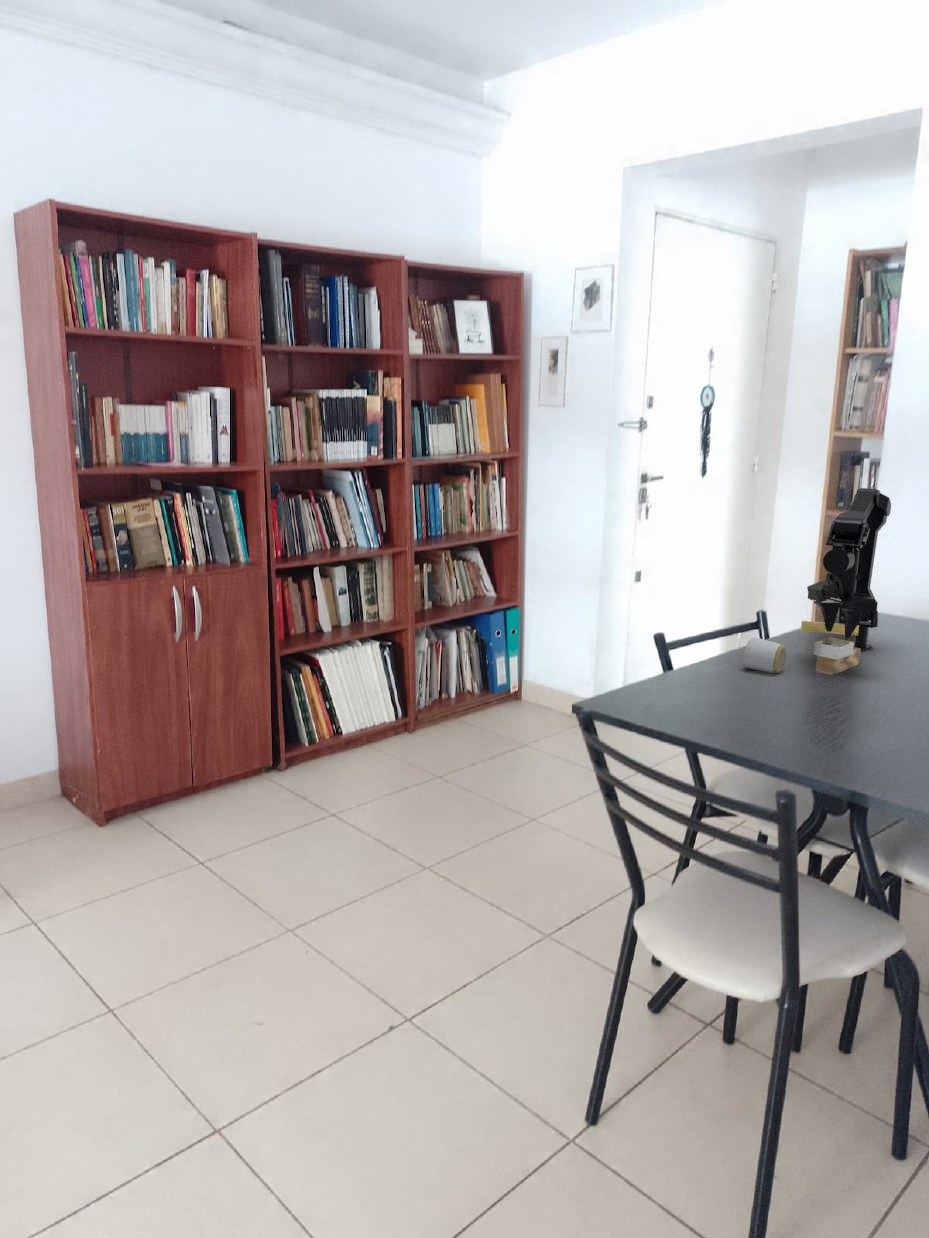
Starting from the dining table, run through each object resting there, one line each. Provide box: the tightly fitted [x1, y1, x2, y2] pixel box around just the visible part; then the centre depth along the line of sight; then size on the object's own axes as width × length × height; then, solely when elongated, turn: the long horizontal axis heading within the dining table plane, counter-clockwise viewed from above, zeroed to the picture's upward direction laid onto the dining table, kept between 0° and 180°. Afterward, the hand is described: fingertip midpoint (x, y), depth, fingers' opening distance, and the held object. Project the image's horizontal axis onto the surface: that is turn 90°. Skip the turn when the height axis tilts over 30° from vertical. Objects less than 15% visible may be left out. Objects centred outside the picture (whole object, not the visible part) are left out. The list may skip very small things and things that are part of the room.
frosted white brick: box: [812, 636, 854, 660], centre depth 219 cm, size 8×6×3 cm
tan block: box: [815, 636, 862, 676], centre depth 221 cm, size 15×4×7 cm, turn 134°
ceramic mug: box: [742, 636, 787, 674], centre depth 219 cm, size 11×8×8 cm
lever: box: [800, 620, 859, 636], centre depth 226 cm, size 13×3×2 cm, turn 75°
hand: (838, 634), depth 221 cm, fingers open, 7 cm apart
